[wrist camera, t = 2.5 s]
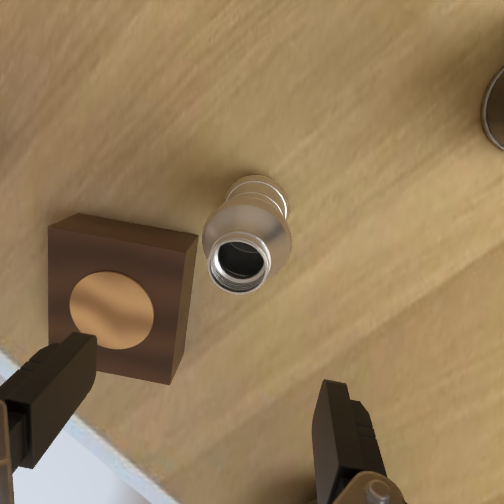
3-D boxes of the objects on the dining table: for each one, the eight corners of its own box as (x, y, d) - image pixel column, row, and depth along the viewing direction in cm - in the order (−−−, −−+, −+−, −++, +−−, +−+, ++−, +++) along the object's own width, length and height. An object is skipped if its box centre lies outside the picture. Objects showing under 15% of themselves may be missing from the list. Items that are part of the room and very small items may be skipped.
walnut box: (78, 212, 44) (45, 227, 38) (198, 235, 44) (185, 253, 38) (75, 334, 49) (46, 363, 44) (183, 355, 49) (169, 387, 43)
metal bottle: (238, 162, 41) (199, 197, 22) (298, 184, 41) (310, 238, 22) (219, 218, 43) (168, 294, 24) (277, 239, 43) (271, 330, 24)
